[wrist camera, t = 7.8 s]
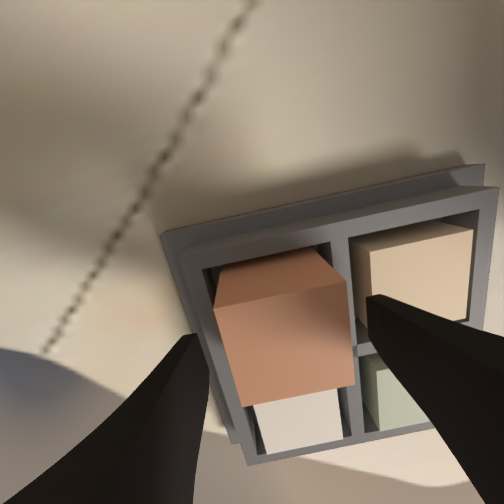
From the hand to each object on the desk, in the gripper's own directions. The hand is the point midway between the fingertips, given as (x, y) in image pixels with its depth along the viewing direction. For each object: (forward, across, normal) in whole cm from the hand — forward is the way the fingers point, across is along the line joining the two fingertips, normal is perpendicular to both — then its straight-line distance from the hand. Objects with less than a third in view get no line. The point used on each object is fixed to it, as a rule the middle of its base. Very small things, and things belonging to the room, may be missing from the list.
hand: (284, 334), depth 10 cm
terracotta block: (+4, 0, 0) cm, 4 cm away
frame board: (+5, -3, +3) cm, 7 cm away
